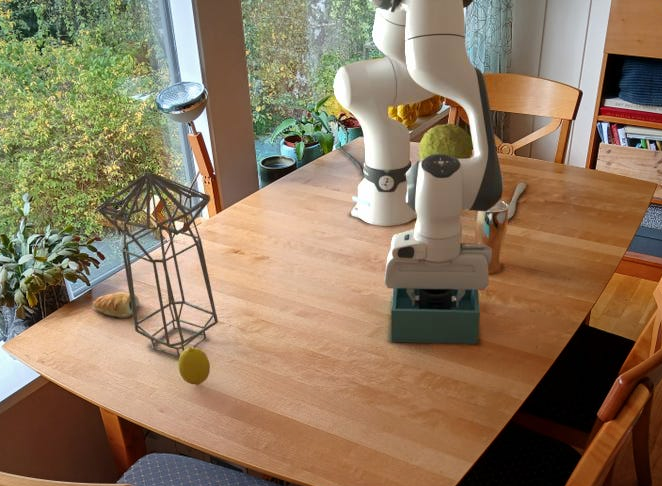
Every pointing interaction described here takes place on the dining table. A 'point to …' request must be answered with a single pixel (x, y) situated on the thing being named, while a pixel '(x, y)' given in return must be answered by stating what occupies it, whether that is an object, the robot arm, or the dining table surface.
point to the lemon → (194, 365)
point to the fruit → (446, 142)
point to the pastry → (115, 304)
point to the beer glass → (492, 231)
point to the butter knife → (515, 199)
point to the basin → (435, 320)
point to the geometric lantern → (162, 184)
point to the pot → (435, 299)
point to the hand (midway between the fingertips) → (434, 305)
